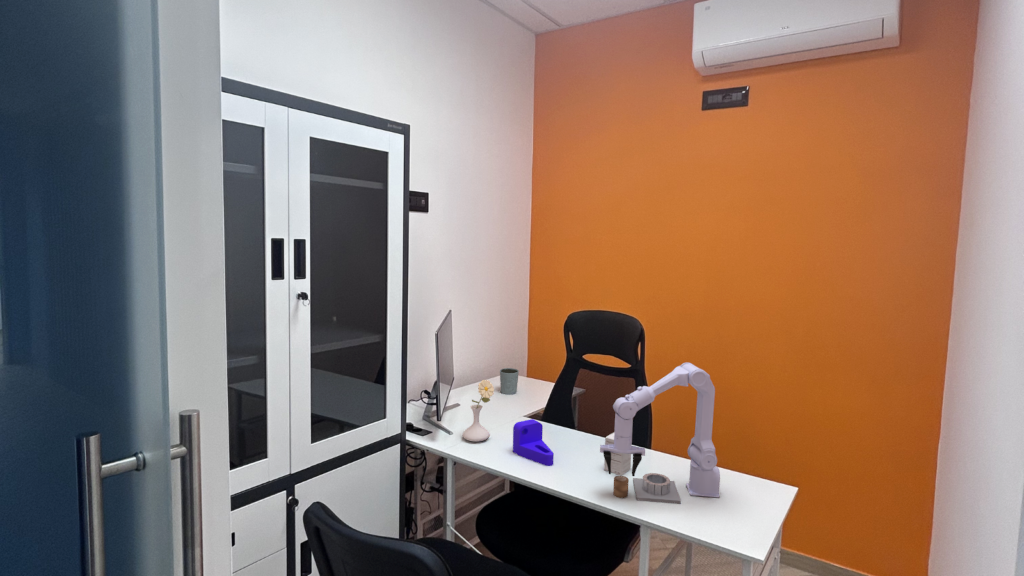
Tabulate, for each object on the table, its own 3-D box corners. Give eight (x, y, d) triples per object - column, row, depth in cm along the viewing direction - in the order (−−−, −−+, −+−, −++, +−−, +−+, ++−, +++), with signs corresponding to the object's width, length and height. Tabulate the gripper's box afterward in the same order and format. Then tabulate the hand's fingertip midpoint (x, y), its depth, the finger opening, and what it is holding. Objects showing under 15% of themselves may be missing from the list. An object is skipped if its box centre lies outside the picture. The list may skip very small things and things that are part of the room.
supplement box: (613, 463, 206) (614, 431, 205) (631, 469, 202) (632, 436, 200) (603, 470, 201) (604, 436, 199) (621, 476, 196) (622, 442, 195)
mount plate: (673, 483, 191) (674, 481, 191) (680, 503, 177) (681, 500, 177) (632, 480, 193) (633, 477, 193) (636, 500, 179) (636, 497, 179)
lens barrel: (667, 483, 189) (668, 474, 188) (671, 496, 180) (672, 486, 179) (641, 481, 190) (641, 472, 189) (644, 494, 181) (644, 484, 181)
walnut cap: (627, 491, 185) (628, 475, 184) (628, 498, 180) (629, 482, 179) (612, 490, 185) (613, 474, 184) (613, 497, 180) (614, 481, 180)
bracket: (512, 451, 216) (513, 423, 214) (535, 446, 221) (536, 418, 220) (539, 469, 200) (540, 438, 199) (562, 462, 206) (563, 432, 205)
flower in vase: (466, 445, 220) (467, 385, 218) (459, 435, 231) (459, 377, 228) (497, 441, 225) (498, 382, 222) (488, 431, 236) (489, 375, 233)
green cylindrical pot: (509, 388, 299) (509, 367, 297) (522, 392, 291) (522, 370, 290) (495, 392, 292) (495, 370, 291) (508, 396, 284) (508, 374, 283)
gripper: (644, 431, 183) (642, 470, 185) (600, 428, 185) (598, 467, 187) (646, 439, 176) (644, 479, 178) (601, 436, 178) (599, 476, 180)
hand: (621, 474), depth 182 cm, fingers open, 7 cm apart
